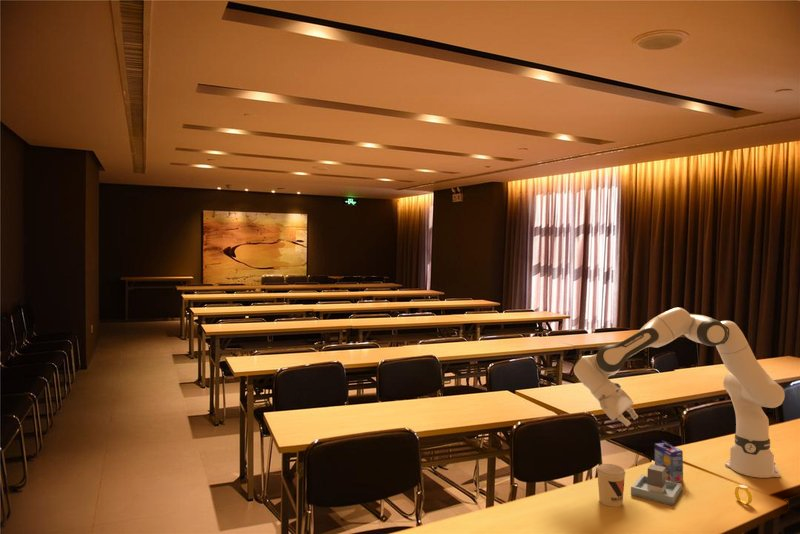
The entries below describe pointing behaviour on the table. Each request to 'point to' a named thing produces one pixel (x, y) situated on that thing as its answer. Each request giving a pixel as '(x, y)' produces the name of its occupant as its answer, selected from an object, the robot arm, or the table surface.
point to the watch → (747, 493)
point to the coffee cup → (611, 484)
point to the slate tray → (667, 497)
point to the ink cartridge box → (670, 461)
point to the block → (656, 478)
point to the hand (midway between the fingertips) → (632, 421)
